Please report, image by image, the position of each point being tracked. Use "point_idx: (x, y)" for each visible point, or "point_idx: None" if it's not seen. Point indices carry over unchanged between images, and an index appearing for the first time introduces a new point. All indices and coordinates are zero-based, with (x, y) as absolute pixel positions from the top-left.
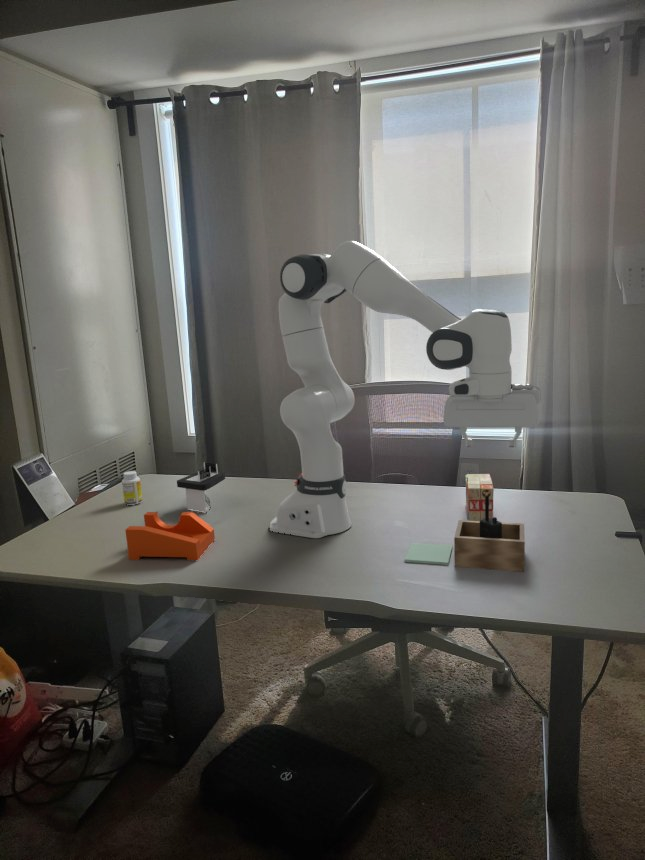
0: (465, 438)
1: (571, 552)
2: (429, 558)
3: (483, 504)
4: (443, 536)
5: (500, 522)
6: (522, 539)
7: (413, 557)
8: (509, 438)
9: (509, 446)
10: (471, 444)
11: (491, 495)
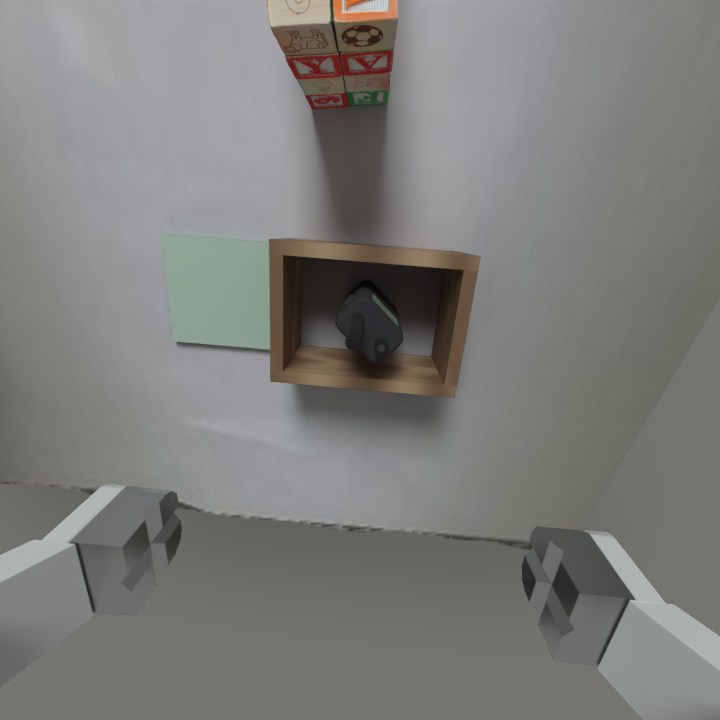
0: (58, 623)
1: (582, 243)
2: (228, 331)
3: (352, 62)
4: (240, 155)
5: (399, 340)
6: (451, 382)
7: (190, 329)
8: (572, 612)
9: (524, 581)
10: (166, 562)
11: (386, 38)
